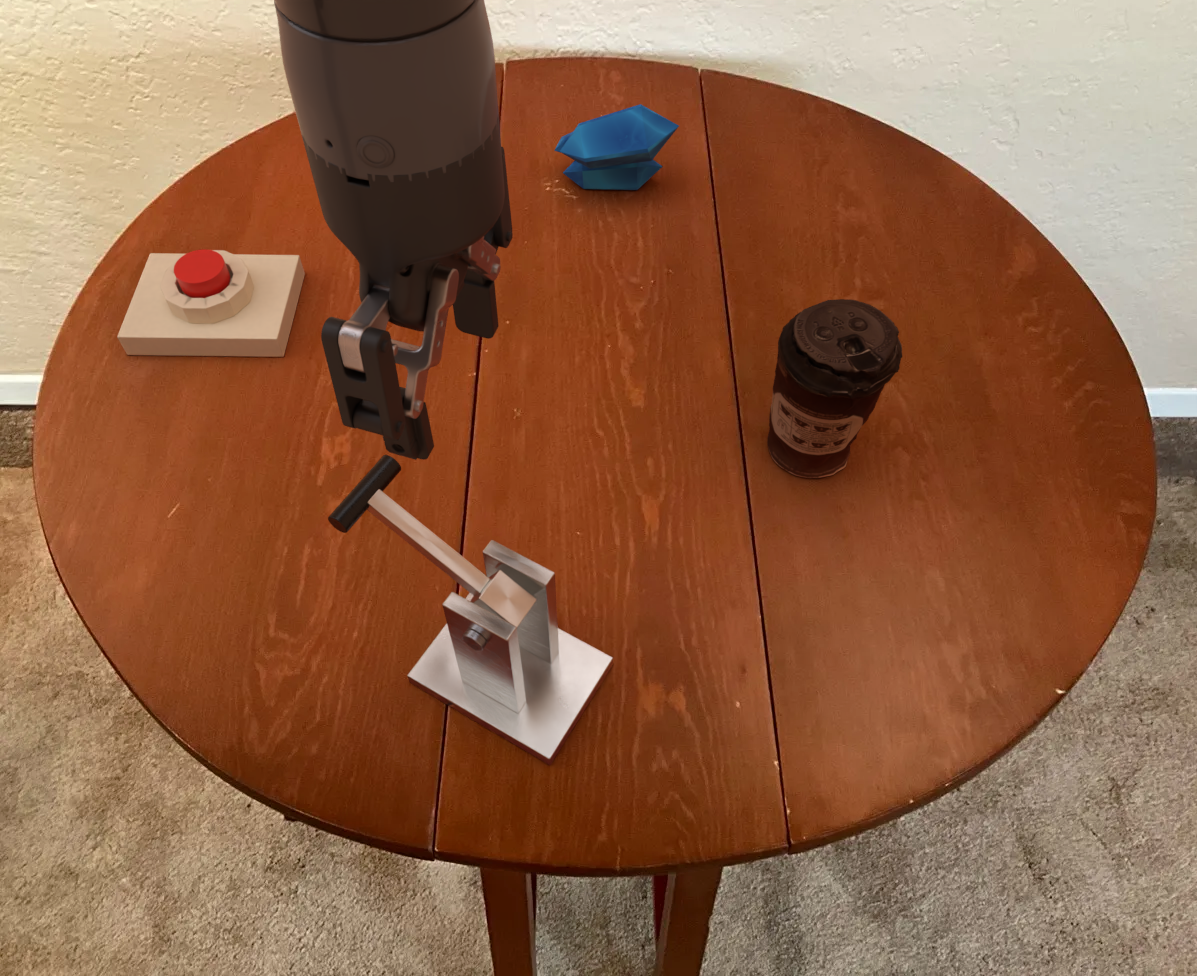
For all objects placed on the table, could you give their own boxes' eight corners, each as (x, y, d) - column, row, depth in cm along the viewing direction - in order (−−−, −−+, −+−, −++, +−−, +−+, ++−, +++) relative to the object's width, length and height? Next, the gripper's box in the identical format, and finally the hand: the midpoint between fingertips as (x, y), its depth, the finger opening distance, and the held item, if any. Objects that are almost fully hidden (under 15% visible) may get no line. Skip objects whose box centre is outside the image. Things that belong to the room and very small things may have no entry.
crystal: (542, 98, 90) (670, 69, 88) (565, 173, 97) (684, 148, 95) (543, 147, 85) (677, 118, 84) (567, 223, 92) (691, 197, 91)
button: (175, 298, 79) (167, 282, 77) (187, 264, 81) (180, 248, 80) (224, 299, 79) (217, 283, 77) (235, 265, 81) (229, 249, 80)
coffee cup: (850, 508, 72) (896, 395, 62) (742, 478, 74) (769, 363, 63) (870, 422, 77) (916, 303, 66) (768, 395, 78) (797, 275, 68)
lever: (324, 523, 54) (331, 511, 52) (378, 462, 57) (388, 448, 55) (489, 655, 56) (502, 648, 54) (535, 589, 59) (550, 581, 56)
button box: (127, 355, 80) (107, 321, 77) (158, 271, 86) (142, 236, 82) (283, 357, 80) (271, 323, 77) (305, 273, 86) (294, 238, 83)
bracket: (409, 682, 64) (377, 597, 54) (477, 591, 68) (459, 496, 58) (550, 766, 61) (543, 691, 51) (613, 664, 65) (618, 578, 55)
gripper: (388, -5, 41) (434, 281, 54) (210, 199, 33) (315, 475, 46) (555, 28, 40) (560, 312, 53) (410, 248, 32) (459, 517, 45)
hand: (446, 388), depth 50 cm, fingers open, 8 cm apart
